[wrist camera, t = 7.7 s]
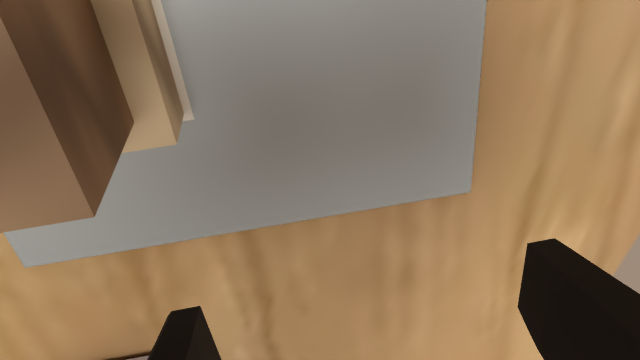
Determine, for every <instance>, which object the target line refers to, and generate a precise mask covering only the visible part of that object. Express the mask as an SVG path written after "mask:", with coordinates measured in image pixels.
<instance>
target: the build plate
mask: <svg viewBox="0 0 640 360" xmlns="http://www.w3.org/2000/svg"><path fill="white" fill-rule="evenodd" d="M151 2H152V5H153V9H154V12H155V16H156V19H157V22H158V26H159V29H160V33H161V36H162V40H163V43H164V46H165V50H166V53H167V57H168V60H169V63H170V67H171V70H172V74H173V77H174V81H175V84H176V87H177V91H178V94H179V98H180V101H181V105H182V108H183V111H184V116H183V121H182V125H181V129H180V133H179V138H178V142H177V144H176V145H170V146H164V147H158V148H151V149H145V150H139V151H132V152H126V153H121V155H120V158H119V160H118V163H117V165H116V167H115V170H114V172H113V174H112V177H111V179H110V182H109V184H108V186H107V189H106V191H105V193H104V196H103V198H102V201H101V203H100V205H99V208H98V210H97V213H96V215H95V217H93V218H87V219H81V220H75V221H69V222H63V223H57V224H51V225H45V226H39V227H33V228H27V229H21V230H15V231H9V232H3V233H4V235H5V236H6V238H7V240H8V241H9V243H10V244H11V246H12V248H13V249H14V251H15V253H16V254H17V256H18V257H19V259H20V261H21V262H22V264H23V265H24V267H25V268H27V267H33V266H39V265H45V264H50V263H56V262H62V261H68V260H74V259H80V258H86V257H92V256H98V255H103V254H109V253H115V252H121V251H127V250H133V249H139V248H145V247H151V246H156V245H162V244H168V243H174V242H180V241H186V240H192V239H198V238H204V237H209V236H215V235H221V234H227V233H233V232H239V231H245V230H251V229H257V228H262V227H268V226H274V225H280V224H286V223H292V222H298V221H304V220H310V219H315V218H321V217H327V216H333V215H339V214H345V213H351V212H357V211H363V210H368V209H374V208H380V207H386V206H392V205H398V204H404V203H410V202H416V201H421V200H427V199H433V198H439V197H445V196H451V195H457V194H463V193H469V192H471V182H472V171H473V159H474V147H475V135H476V123H477V111H478V99H479V87H480V75H481V63H482V51H483V40H484V28H485V16H486V4H487V0H151Z"/></svg>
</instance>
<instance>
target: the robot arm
mask: <svg viewBox="0 0 640 360" xmlns="http://www.w3.org/2000/svg"><path fill="white" fill-rule="evenodd" d="M518 309H519V311H520V313H521V315H522V317H523V320H524V322H525V324H526V326H527V328H528V330H529V333H530V335H531V337H532V339H533V341H534V343H535V345H536V347H537V349H538V351H539V352H540V354H541V355H542V357H543V359H544V360H640V294H639V293H637V292H636V291H634V290H632V289H631V288H629V287H628V286H626V285H625V284H623V283H622V282H620V281H619V280H617V279H616V278H614V277H613V276H611V275H610V274H608V273H607V272H605V271H603V270H602V269H600V268H599V267H597V266H596V265H594V264H593V263H591V262H590V261H588V260H587V259H585V258H584V257H582V256H581V255H579V254H578V253H576V252H575V251H573V250H572V249H570V248H569V247H567V246H566V245H564V244H563V243H561V242H559V241H558V240H556V239H555V238H554V239H548V240H543V241H538V242H533V243H528V244H527V250H526V257H525V263H524V270H523V276H522V283H521V289H520V295H519V302H518ZM127 360H221V358H220V355H219V353H218V350H217V348H216V345H215V343H214V340H213V337H212V335H211V332H210V330H209V327H208V325H207V322H206V320H205V317H204V314H203V312H202V309H201V307H200V306H197V307H192V308H186V309H181V310H176V311H172V312H171V313H170V314H169V315H168V317H167V319H166V321H165V323H164V326H163V328H162V330H161V332H160V334H159V336H158V338H157V341H156V343H155V345H154V347H153V349H152V351H151V353H150V355H149V356H143V357H138V358H132V359H127Z"/></svg>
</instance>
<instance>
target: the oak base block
mask: <svg viewBox="0 0 640 360" xmlns="http://www.w3.org/2000/svg"><path fill="white" fill-rule="evenodd" d="M91 3H92V6H93V9H94V12H95V14H96V17H97V20H98V23H99V25H100V28H101V31H102V34H103V37H104V39H105V42H106V45H107V48H108V50H109V53H110V56H111V59H112V61H113V64H114V67H115V70H116V73H117V75H118V78H119V81H120V84H121V86H122V89H123V92H124V95H125V98H126V100H127V103H128V106H129V109H130V111H131V114H132V117H133V120H134V124H133V127H132V129H131V132H130V134H129V136H128V139H127V141H126V144H125V146H124V148H123V151H122V153H126V152H132V151H139V150H145V149H151V148H158V147H164V146H170V145H176V144H177V142H178V138H179V133H180V129H181V125H182V121H183V116H184V111H183V108H182V105H181V101H180V98H179V94H178V91H177V87H176V84H175V81H174V77H173V74H172V70H171V67H170V63H169V60H168V57H167V53H166V50H165V46H164V43H163V40H162V36H161V33H160V29H159V26H158V22H157V19H156V16H155V12H154V9H153V5H152V2H151V0H91Z"/></svg>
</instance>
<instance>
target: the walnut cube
mask: <svg viewBox="0 0 640 360" xmlns="http://www.w3.org/2000/svg"><path fill="white" fill-rule="evenodd" d="M133 124H134V120H133V117H132V114H131V111H130V109H129V106H128V103H127V100H126V98H125V95H124V92H123V89H122V86H121V84H120V81H119V78H118V75H117V73H116V70H115V67H114V64H113V61H112V59H111V56H110V53H109V50H108V48H107V45H106V42H105V39H104V37H103V34H102V31H101V28H100V25H99V23H98V20H97V17H96V14H95V12H94V9H93V6H92V3H91V0H0V233H3V232H9V231H15V230H21V229H27V228H33V227H39V226H45V225H51V224H57V223H63V222H69V221H75V220H81V219H87V218H93V217H95V215H96V213H97V210H98V208H99V205H100V203H101V201H102V198H103V196H104V193H105V191H106V189H107V186H108V184H109V182H110V179H111V177H112V174H113V172H114V170H115V167H116V165H117V163H118V160H119V158H120V155H121V153H122V151H123V148H124V146H125V144H126V141H127V139H128V136H129V134H130V132H131V129H132V127H133Z"/></svg>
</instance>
